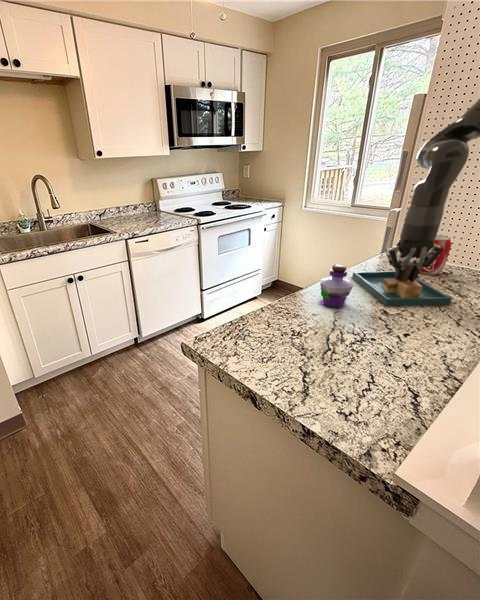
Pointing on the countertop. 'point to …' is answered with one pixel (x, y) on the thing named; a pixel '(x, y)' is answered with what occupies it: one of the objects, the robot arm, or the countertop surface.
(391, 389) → the countertop surface
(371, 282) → the tray
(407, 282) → the cork block
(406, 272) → the stamp
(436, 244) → the soda can
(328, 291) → the potion bottle
